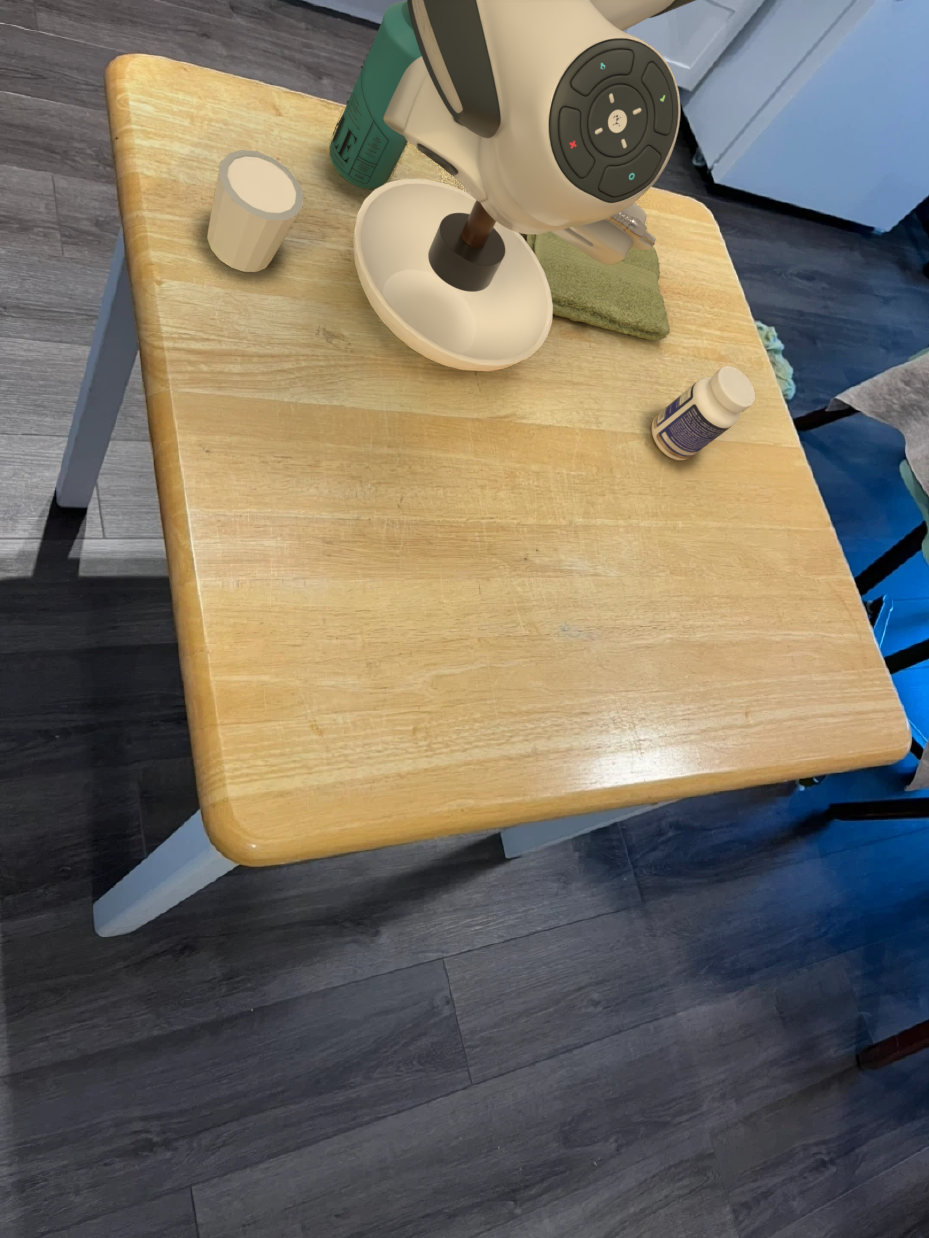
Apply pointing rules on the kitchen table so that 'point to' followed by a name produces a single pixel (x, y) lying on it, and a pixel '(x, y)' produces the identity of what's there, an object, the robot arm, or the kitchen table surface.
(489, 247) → the paper towel holder
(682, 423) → the pill bottle
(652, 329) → the washcloth
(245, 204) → the shot glass
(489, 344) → the bowl
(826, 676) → the kitchen table surface
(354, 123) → the beverage bottle
